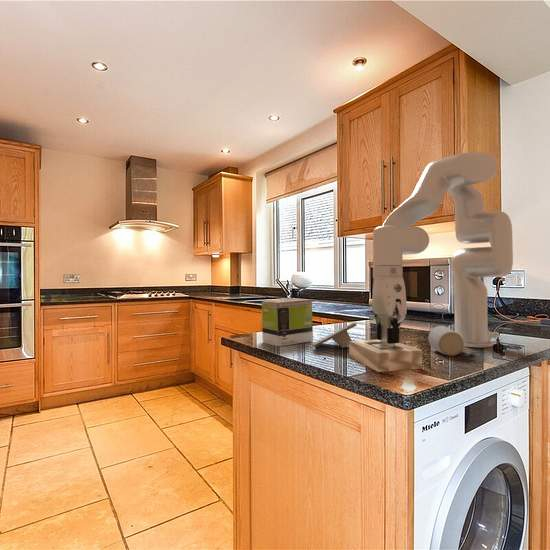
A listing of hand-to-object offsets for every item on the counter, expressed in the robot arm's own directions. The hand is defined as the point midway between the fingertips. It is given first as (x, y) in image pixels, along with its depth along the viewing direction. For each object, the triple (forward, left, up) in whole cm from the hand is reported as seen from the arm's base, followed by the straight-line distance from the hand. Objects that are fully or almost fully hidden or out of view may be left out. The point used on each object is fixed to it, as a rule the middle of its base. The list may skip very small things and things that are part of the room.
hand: (387, 340), depth 96 cm
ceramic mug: (-23, -4, -6) cm, 24 cm away
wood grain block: (+1, 0, -3) cm, 3 cm away
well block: (+1, 0, -6) cm, 6 cm away
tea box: (+18, -34, -6) cm, 39 cm away
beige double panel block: (+7, -21, -6) cm, 23 cm away
